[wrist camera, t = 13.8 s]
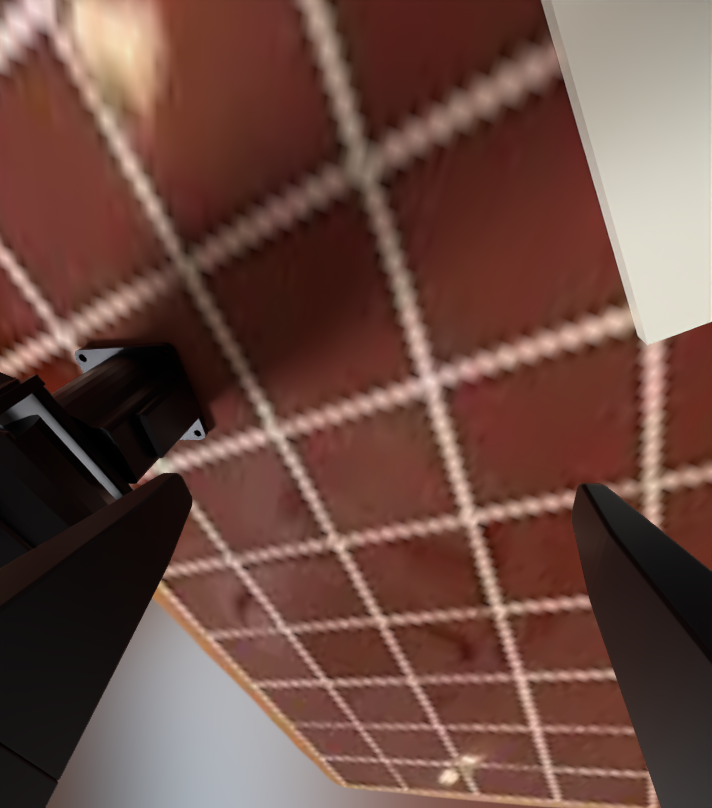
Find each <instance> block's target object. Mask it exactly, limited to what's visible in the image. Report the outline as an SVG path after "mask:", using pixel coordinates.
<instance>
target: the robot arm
mask: <svg viewBox="0 0 712 808" xmlns="http://www.w3.org/2000/svg"><path fill="white" fill-rule="evenodd" d="M164 350H165V351H167V353H168V354H166V353H165V352H164ZM75 358H76V360H77V362H78V363H79V365H80V367H81V369H82V371H83V372H84V374H82V375H81V376H79V377H77V378H76V379H74V380H73V381H71V382H69V383H68V384H66V385H65V386H63V387H61V388H60V389H58V390H57V391H55V392H53V393H52V394H51V393H50V392H49V391H48V390H47V389H46V388H45V387H44V385H45V383H44V382H43V381H42V380H41V378H40V377H39V376H38V375H37V374H35V375H33V376H30V377H28V378H25V379H23V380H20V381H19V380H18V379H16V377H14V378H12V377H10V376H8V375H6V374H3V373H1V372H0V808H46V806H47V805H48V803H49V801H50V799H51V797H52V795H53V793H54V791H55V789H56V787H57V785H58V780H59V779H60V778H61V776H62V774H63V772H64V770H65V768H66V766H67V764H68V762H69V760H70V758H71V756H72V755H73V753H74V751H75V748H76V747H77V745H78V743H79V741H80V739H81V737H82V735H83V733H84V731H85V729H86V727H87V725H88V723H89V721H90V719H91V717H92V715H93V713H94V711H95V709H96V707H97V705H98V703H99V701H100V699H101V697H102V695H103V693H104V691H105V689H106V687H107V685H108V683H109V681H110V679H111V677H112V675H113V674H114V672H115V670H116V668H117V666H118V664H119V662H120V660H121V658H122V656H123V654H124V652H125V650H126V648H127V646H128V644H129V642H130V640H131V638H132V636H133V634H134V632H135V630H136V628H137V626H138V624H139V622H140V620H141V618H142V616H143V614H144V612H145V610H146V608H147V606H148V604H149V602H150V600H151V599H152V597H153V595H154V593H155V591H156V589H157V587H158V585H159V583H160V581H161V579H162V577H163V575H164V573H165V571H166V569H167V567H168V564H169V562H170V560H171V558H172V555H173V553H174V550H175V548H176V545H177V543H178V540H179V537H180V535H181V532H182V530H183V527H184V525H185V522H186V520H187V517H188V515H189V512H190V510H191V507H192V496H191V494H190V492H189V490H188V488H187V485H186V483H185V481H184V479H183V477H182V476H181V475H180V474H177V473H163V474H161V475H159V476H157V477H155V478H154V479H152V480H150V481H149V482H147V483H145V484H143V485H142V486H140V487H138V488H137V489H135V490H134V489H133V488H132V487H131V486H130V485H129V484H135V483H137V482H138V481H139V480H140V479H141V478H142V476H143V475H144V474H145V473H146V472H147V471H148V470H149V469H150V468H151V467H152V466H153V464H154V463H155V462H156V461H157V460H158V459H159V458H163V457H164V456H165V455H166V454H167V453H168V452H169V451H170V450H171V449H172V448H173V446H174V445H175V444H176V443H177V442H178V441H179V440H201V439H204V438H205V437H206V435H207V434H208V429H207V426H206V424H205V421H204V419H203V416H202V414H201V411H200V409H199V406H198V404H197V401H196V399H195V396H194V394H193V391H192V389H191V387H190V384H189V382H188V379H187V377H186V374H185V372H184V369H183V367H182V364H181V362H180V359H179V357H178V354H177V352H176V350H175V348H174V347H173V346H172V345H171V344H169V343H149V344H133V345H117V346H100V347H84V348H81V349H79V350H77V351H76V352H75ZM198 430H199V431H200V432H199V431H198ZM572 523H573V528H574V533H575V537H576V542H577V546H578V551H579V556H580V560H581V565H582V569H583V574H584V578H585V583H586V587H587V591H588V595H589V599H590V602H591V605H592V609H593V612H594V615H595V617H596V620H597V623H598V626H599V629H600V632H601V635H602V638H603V641H604V644H605V646H606V649H607V652H608V655H609V658H610V661H611V664H612V667H613V670H614V672H615V675H616V678H617V681H618V684H619V687H620V690H621V693H622V696H623V698H624V701H625V704H626V707H627V710H628V713H629V716H630V719H631V722H632V725H633V727H634V730H635V733H636V736H637V739H638V742H639V745H640V748H641V751H642V753H643V756H644V759H645V762H646V765H647V768H648V771H649V774H650V777H651V780H652V782H653V785H654V788H655V791H656V794H657V797H658V800H659V803H660V806H661V808H712V571H711V570H710V569H709V568H707V567H706V566H705V565H704V564H702V563H701V562H700V561H699V560H697V559H696V558H695V557H694V556H692V555H691V554H690V553H689V552H687V551H686V550H685V549H684V548H682V547H681V546H680V545H679V544H677V543H676V542H675V541H674V540H673V539H671V538H670V537H669V536H668V535H666V534H665V533H664V532H663V531H661V530H660V529H659V528H658V527H656V526H655V525H654V524H653V523H651V522H650V521H649V520H648V519H646V518H645V517H644V516H643V515H641V514H640V513H639V512H638V511H636V510H635V509H634V508H633V507H631V506H630V505H629V504H628V503H626V502H625V501H624V500H623V499H622V498H620V497H619V496H618V495H617V494H615V493H614V492H613V491H612V490H610V489H609V488H608V487H607V486H605V485H603V484H599V483H582V484H580V485H579V486H578V488H577V492H576V496H575V501H574V505H573V510H572Z"/></svg>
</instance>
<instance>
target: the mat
mask: <svg viewBox="0 0 712 808" xmlns="http://www.w3.org/2000/svg"><path fill="white" fill-rule="evenodd" d="M541 2H542V6H543V9H544V13H545V16H546V20H547V23H548V27H549V30H550V34H551V37H552V41H553V44H554V47H555V51H556V54H557V58H558V61H559V65H560V68H561V72H562V75H563V79H564V82H565V86H566V89H567V92H568V96H569V99H570V103H571V106H572V110H573V113H574V117H575V120H576V124H577V127H578V131H579V134H580V138H581V141H582V144H583V148H584V151H585V155H586V158H587V162H588V165H589V169H590V172H591V176H592V179H593V183H594V186H595V189H596V193H597V196H598V200H599V203H600V207H601V210H602V214H603V217H604V221H605V224H606V228H607V231H608V234H609V238H610V241H611V245H612V248H613V252H614V255H615V259H616V262H617V266H618V269H619V273H620V276H621V279H622V283H623V286H624V290H625V293H626V297H627V300H628V304H629V307H630V311H631V314H632V318H633V321H634V325H635V328H636V331H637V335H638V337H639V338H641V339H642V340H643V341H644V342H645V343H646V344H647V345H650V344H652V343H655V342H658V341H660V340H663V339H666V338H669V337H671V336H674V335H677V334H679V333H682V332H685V331H687V330H690V329H693V328H696V327H698V326H701V325H704V324H706V323H709V322H712V0H541Z"/></svg>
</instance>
